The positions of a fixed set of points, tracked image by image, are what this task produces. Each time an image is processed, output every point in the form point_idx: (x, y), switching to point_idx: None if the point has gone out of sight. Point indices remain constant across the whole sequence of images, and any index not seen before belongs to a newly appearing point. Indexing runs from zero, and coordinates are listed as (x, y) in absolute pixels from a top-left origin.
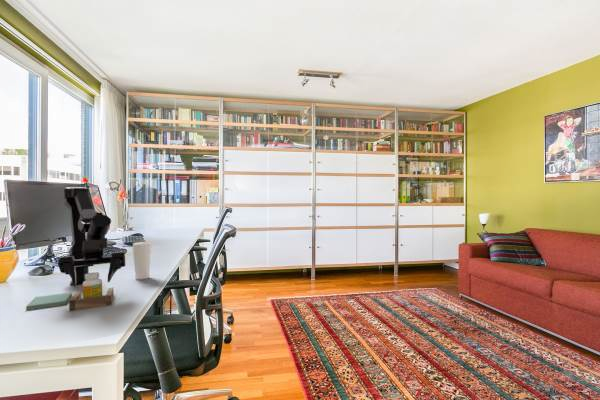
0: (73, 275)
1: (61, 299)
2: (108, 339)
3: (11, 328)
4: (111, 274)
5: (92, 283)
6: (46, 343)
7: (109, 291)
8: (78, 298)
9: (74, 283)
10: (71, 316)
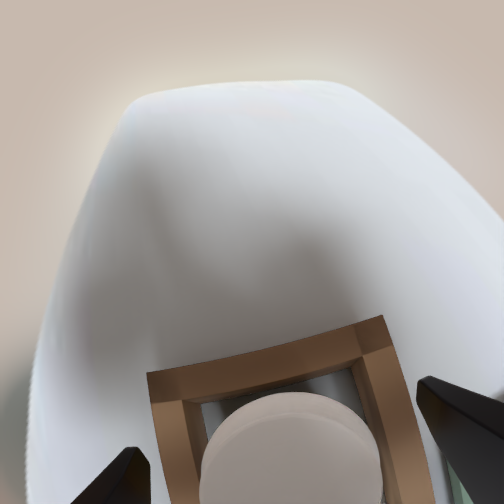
0: (494, 418)
1: None
2: (142, 102)
3: (460, 187)
4: (89, 492)
5: (260, 400)
6: (272, 92)
7: (183, 485)
8: (383, 448)
9: (428, 380)
10: (315, 255)
